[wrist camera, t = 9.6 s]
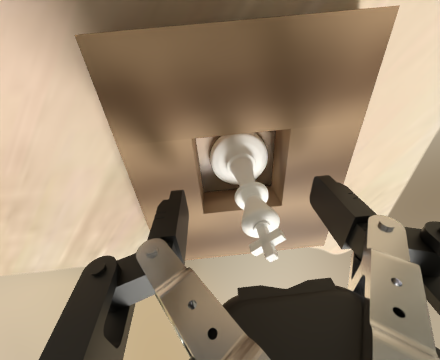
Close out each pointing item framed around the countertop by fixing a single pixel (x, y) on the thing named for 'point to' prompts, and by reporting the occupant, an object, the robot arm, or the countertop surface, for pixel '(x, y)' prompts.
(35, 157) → the countertop surface
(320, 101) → the socket board
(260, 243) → the chess piece
